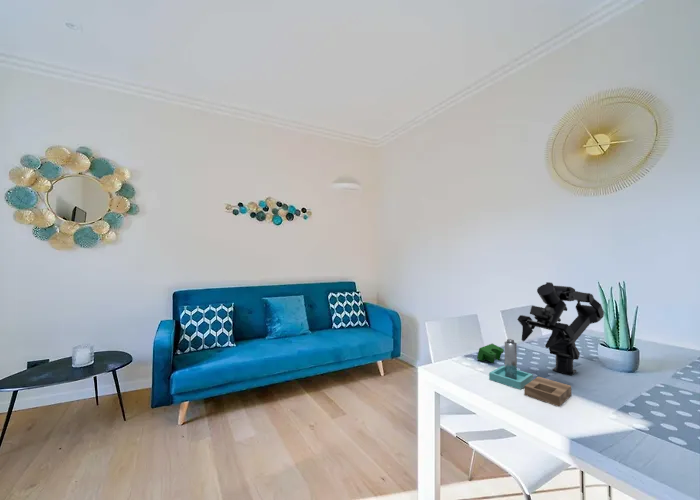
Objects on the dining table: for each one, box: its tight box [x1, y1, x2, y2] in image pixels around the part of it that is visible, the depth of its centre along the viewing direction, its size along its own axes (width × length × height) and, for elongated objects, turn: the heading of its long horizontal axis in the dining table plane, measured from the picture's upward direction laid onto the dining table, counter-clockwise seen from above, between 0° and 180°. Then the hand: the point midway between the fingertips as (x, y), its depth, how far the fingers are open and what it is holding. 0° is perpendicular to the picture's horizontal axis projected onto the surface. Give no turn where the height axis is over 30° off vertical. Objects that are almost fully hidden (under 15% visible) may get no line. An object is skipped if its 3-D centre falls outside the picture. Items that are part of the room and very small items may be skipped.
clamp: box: [476, 343, 505, 364], centre depth 133 cm, size 12×6×9 cm, turn 120°
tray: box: [488, 365, 534, 391], centre depth 112 cm, size 11×11×2 cm
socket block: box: [523, 376, 572, 407], centre depth 101 cm, size 12×10×3 cm
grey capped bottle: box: [504, 338, 518, 380], centre depth 112 cm, size 4×4×14 cm
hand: (533, 343), depth 112 cm, fingers open, 9 cm apart
